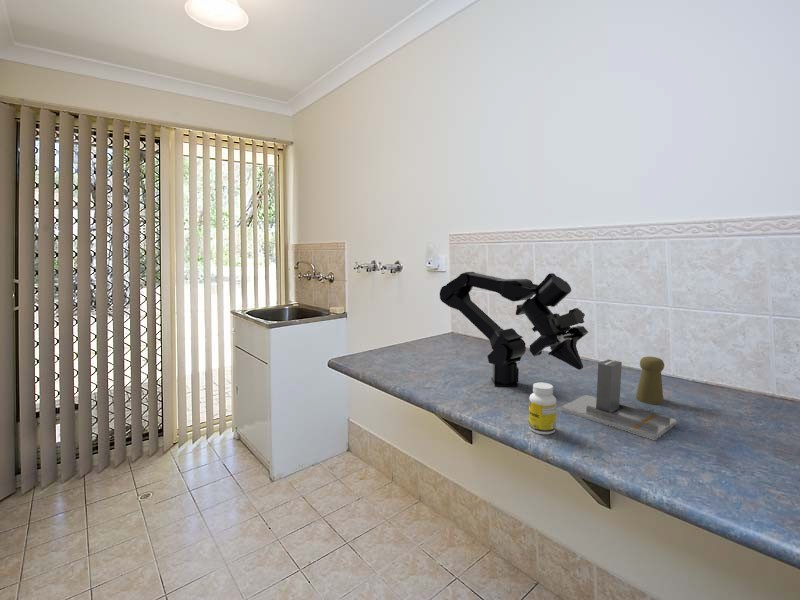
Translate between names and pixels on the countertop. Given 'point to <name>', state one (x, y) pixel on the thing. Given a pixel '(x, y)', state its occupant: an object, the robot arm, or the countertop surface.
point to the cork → (650, 381)
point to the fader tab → (608, 385)
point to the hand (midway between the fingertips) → (581, 368)
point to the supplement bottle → (542, 409)
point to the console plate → (622, 417)
